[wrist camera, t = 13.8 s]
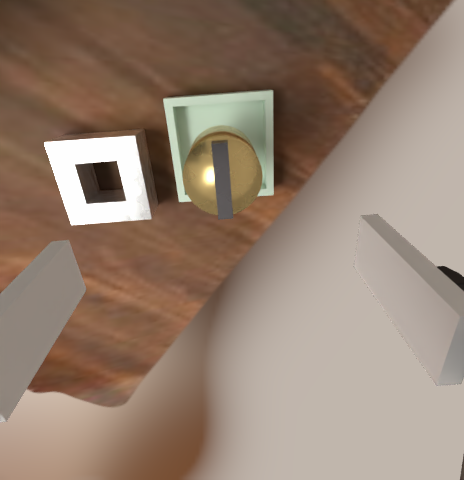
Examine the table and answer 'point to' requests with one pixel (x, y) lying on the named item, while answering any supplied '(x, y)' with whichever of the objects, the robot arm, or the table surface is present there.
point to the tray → (222, 113)
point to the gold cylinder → (222, 171)
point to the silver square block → (85, 182)
